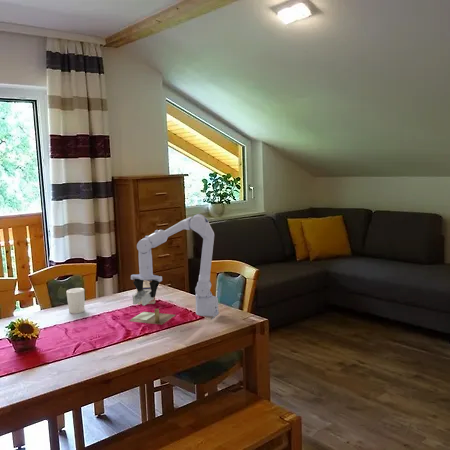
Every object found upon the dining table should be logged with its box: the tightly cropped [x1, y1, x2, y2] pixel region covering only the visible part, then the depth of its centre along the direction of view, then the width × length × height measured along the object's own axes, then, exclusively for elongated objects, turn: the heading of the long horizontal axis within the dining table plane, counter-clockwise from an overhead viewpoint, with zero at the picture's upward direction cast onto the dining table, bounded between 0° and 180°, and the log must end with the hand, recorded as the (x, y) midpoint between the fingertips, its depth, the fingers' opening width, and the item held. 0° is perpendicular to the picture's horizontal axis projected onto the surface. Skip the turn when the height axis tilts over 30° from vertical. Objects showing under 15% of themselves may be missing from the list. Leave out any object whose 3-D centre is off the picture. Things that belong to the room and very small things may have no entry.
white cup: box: [66, 287, 86, 314], centre depth 226 cm, size 8×8×10 cm
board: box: [128, 308, 176, 325], centre depth 211 cm, size 16×13×6 cm
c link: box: [132, 289, 154, 306], centre depth 213 cm, size 8×6×4 cm
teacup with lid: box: [135, 280, 156, 306], centre depth 237 cm, size 12×9×12 cm
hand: (147, 296), depth 216 cm, fingers closed on c link, 6 cm apart
